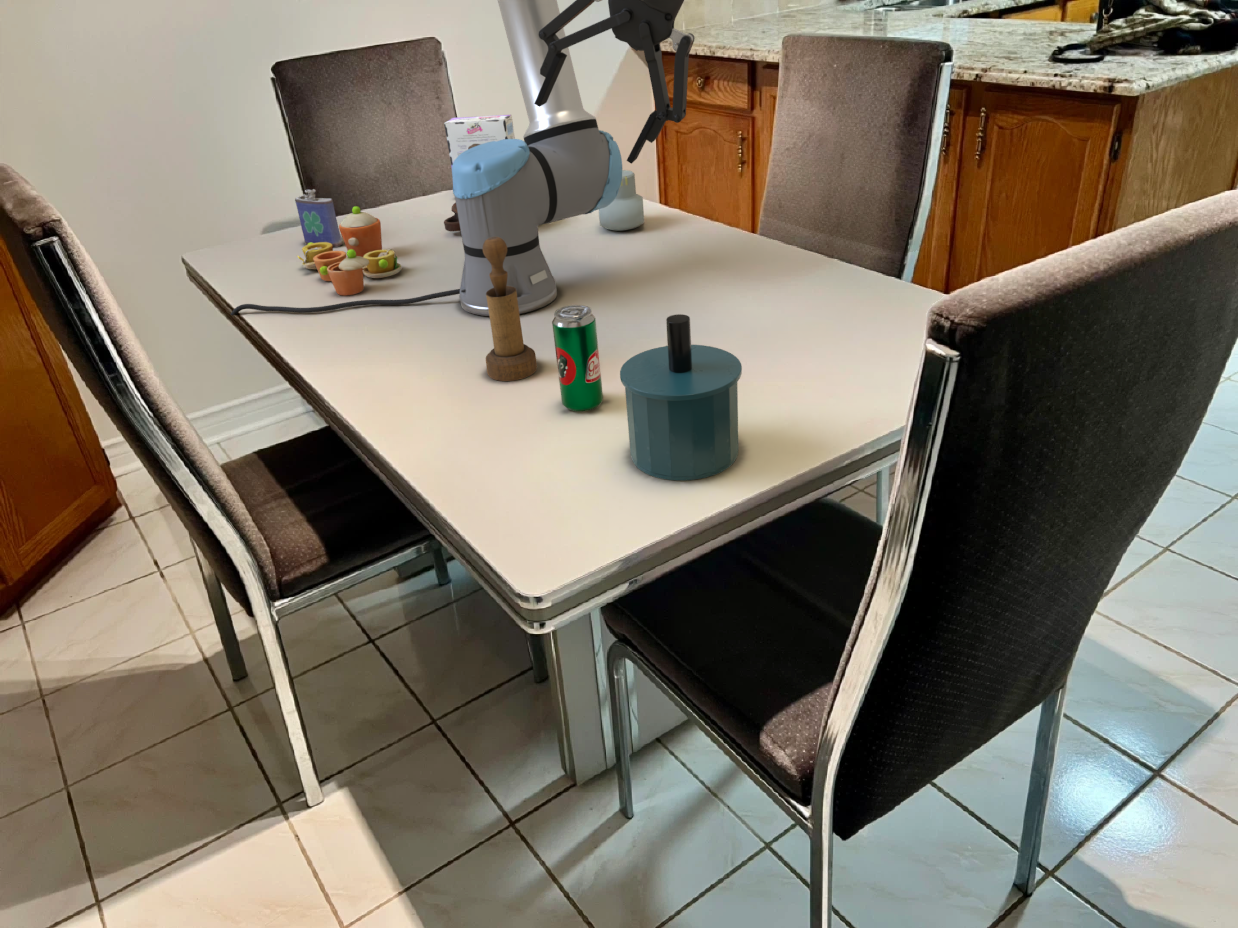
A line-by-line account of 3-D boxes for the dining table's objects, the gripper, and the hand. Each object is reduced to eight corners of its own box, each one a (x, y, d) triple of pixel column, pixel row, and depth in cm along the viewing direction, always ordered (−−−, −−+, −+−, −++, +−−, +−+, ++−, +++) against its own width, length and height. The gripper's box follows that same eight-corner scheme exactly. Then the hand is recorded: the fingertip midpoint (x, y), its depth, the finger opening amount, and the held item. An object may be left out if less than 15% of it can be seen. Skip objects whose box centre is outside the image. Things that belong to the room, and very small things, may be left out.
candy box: (522, 190, 210) (512, 113, 202) (515, 197, 205) (505, 118, 197) (464, 192, 213) (452, 116, 204) (455, 199, 208) (442, 121, 199)
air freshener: (644, 233, 174) (641, 178, 169) (600, 236, 175) (595, 182, 170) (644, 217, 184) (640, 165, 179) (601, 220, 184) (597, 168, 179)
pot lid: (596, 381, 99) (590, 322, 95) (682, 344, 106) (680, 287, 102) (678, 418, 90) (675, 354, 87) (767, 375, 97) (767, 314, 94)
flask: (345, 243, 184) (332, 188, 178) (334, 248, 181) (321, 192, 176) (311, 240, 188) (298, 186, 182) (300, 244, 186) (286, 190, 180)
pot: (609, 455, 103) (602, 376, 98) (685, 418, 109) (682, 342, 105) (683, 493, 95) (678, 409, 91) (760, 450, 101) (760, 370, 97)
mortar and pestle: (498, 385, 121) (476, 249, 112) (480, 368, 126) (459, 237, 117) (545, 372, 123) (527, 238, 114) (526, 356, 129) (508, 226, 120)
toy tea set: (296, 264, 174) (282, 213, 169) (377, 246, 180) (366, 196, 175) (331, 303, 154) (317, 245, 149) (421, 281, 160) (411, 225, 155)
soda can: (598, 414, 112) (589, 319, 106) (557, 413, 113) (546, 319, 107) (607, 395, 116) (598, 303, 110) (568, 394, 117) (557, 303, 111)
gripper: (560, -92, 104) (490, 84, 116) (751, 28, 105) (662, 190, 117) (580, -94, 110) (512, 74, 122) (761, 20, 111) (675, 175, 124)
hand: (585, 131), depth 120 cm, fingers open, 13 cm apart
